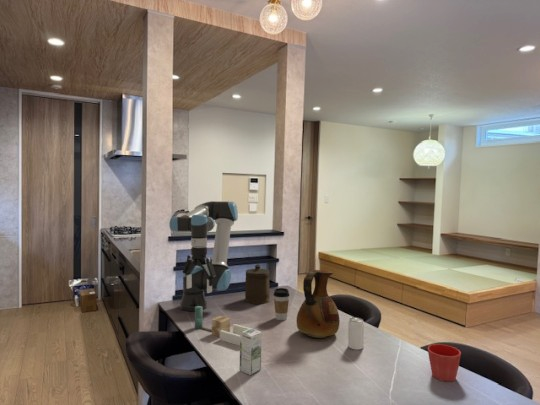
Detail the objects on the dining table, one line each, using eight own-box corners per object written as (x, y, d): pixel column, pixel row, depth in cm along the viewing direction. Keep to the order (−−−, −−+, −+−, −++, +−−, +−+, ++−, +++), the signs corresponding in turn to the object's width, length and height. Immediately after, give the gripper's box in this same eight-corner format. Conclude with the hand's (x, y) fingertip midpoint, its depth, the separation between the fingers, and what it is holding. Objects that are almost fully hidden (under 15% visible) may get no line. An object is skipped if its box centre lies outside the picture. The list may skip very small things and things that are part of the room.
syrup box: (249, 365, 138) (250, 327, 138) (261, 370, 134) (261, 331, 134) (239, 370, 134) (239, 331, 133) (251, 376, 130) (251, 336, 129)
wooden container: (265, 296, 231) (265, 261, 231) (272, 302, 217) (272, 266, 216) (242, 298, 227) (242, 262, 226) (248, 305, 212) (248, 267, 212)
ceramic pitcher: (347, 333, 170) (348, 270, 169) (322, 346, 155) (323, 277, 155) (313, 323, 184) (314, 264, 183) (287, 334, 169) (288, 270, 168)
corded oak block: (191, 328, 174) (191, 308, 174) (200, 325, 180) (200, 305, 179) (221, 337, 164) (221, 315, 164) (230, 333, 169) (230, 311, 169)
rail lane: (219, 339, 162) (219, 330, 162) (234, 332, 170) (234, 323, 170) (244, 347, 154) (244, 337, 154) (258, 339, 163) (258, 330, 163)
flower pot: (421, 369, 136) (422, 344, 135) (449, 368, 137) (450, 343, 136) (436, 384, 125) (437, 356, 125) (467, 383, 126) (467, 355, 126)
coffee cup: (289, 316, 194) (289, 288, 193) (288, 321, 185) (289, 292, 185) (274, 315, 195) (274, 287, 194) (272, 320, 186) (272, 291, 186)
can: (364, 345, 157) (364, 317, 157) (363, 351, 151) (363, 322, 151) (349, 343, 159) (349, 316, 159) (347, 349, 153) (347, 320, 153)
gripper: (175, 245, 179) (175, 287, 179) (213, 250, 165) (213, 296, 166) (186, 243, 185) (186, 284, 186) (223, 247, 171) (223, 292, 172)
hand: (199, 290), depth 176 cm, fingers open, 13 cm apart
